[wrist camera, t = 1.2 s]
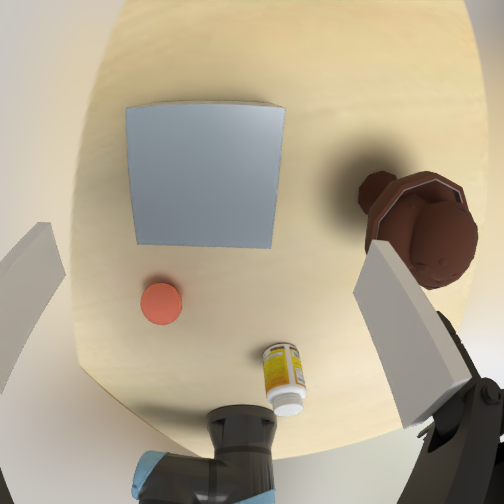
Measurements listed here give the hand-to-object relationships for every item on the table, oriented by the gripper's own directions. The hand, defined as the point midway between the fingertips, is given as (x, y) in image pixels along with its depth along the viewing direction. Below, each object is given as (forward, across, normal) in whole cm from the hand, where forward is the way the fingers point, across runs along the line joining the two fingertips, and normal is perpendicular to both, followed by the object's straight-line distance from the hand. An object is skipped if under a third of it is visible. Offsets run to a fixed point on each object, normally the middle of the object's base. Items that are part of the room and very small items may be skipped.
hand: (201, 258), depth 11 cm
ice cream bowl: (+18, -17, +3) cm, 25 cm away
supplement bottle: (+17, -10, +29) cm, 35 cm away
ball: (+15, +7, +18) cm, 24 cm away
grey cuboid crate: (+18, +1, 0) cm, 18 cm away
